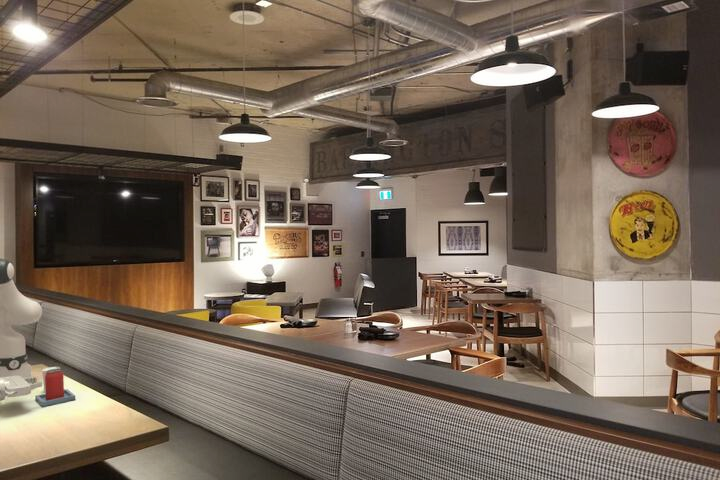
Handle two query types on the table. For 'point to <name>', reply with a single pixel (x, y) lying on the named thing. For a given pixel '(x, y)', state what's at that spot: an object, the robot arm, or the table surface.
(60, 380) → the beer can
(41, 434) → the table surface
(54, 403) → the slate tray
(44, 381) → the white coffee cup
